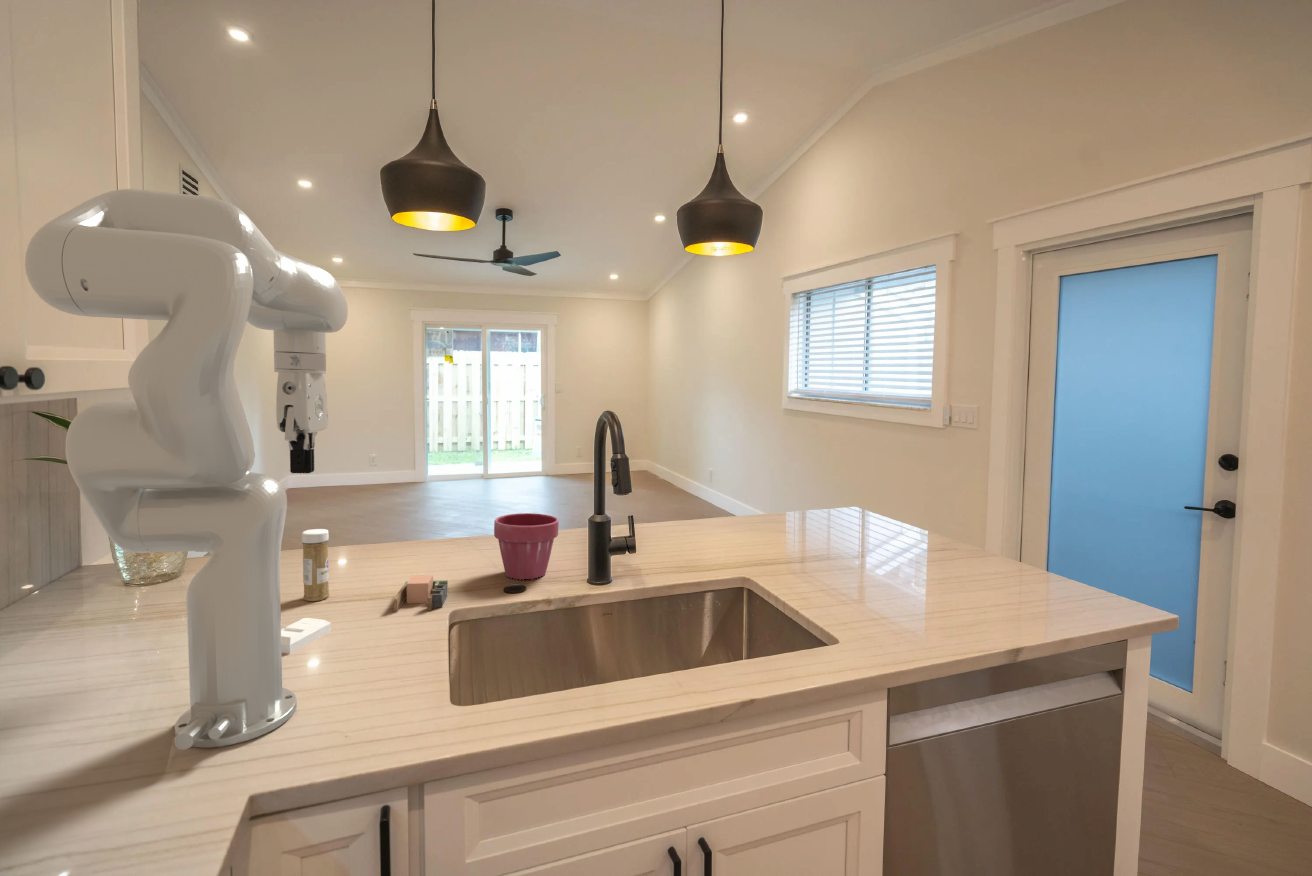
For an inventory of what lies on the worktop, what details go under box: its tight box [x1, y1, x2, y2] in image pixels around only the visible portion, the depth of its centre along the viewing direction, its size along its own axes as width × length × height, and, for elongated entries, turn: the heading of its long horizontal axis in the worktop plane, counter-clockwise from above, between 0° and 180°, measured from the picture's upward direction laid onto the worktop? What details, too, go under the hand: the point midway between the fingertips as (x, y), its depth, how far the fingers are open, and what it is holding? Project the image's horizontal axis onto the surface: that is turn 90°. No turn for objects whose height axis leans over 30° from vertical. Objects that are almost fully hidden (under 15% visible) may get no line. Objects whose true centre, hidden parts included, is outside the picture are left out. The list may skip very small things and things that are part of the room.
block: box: [406, 574, 434, 604], centre depth 120 cm, size 5×4×4 cm
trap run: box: [393, 579, 449, 613], centre depth 118 cm, size 10×8×2 cm
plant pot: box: [493, 512, 559, 581], centre depth 137 cm, size 14×14×13 cm
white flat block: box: [281, 617, 332, 655], centre depth 99 cm, size 5×9×3 cm, turn 169°
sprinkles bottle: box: [301, 528, 330, 602], centre depth 117 cm, size 5×5×14 cm
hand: (302, 472), depth 102 cm, fingers closed
